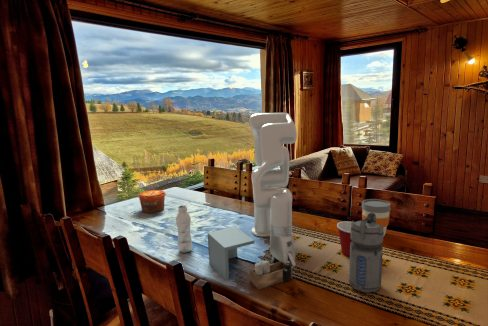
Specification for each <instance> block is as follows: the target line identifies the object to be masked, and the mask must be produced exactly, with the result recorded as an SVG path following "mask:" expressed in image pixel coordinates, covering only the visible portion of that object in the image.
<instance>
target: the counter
mask: <svg viewBox="0 0 488 326" xmlns="http://www.w3.org/2000/svg"><path fill="white" fill-rule="evenodd" d="M254 244H255V239H253V238H252V237H251V236H249V235H248V234H247V233H245V232H243V231H241V229H239V228H238V227H236V226H232V227H228V228H223V229H219V230H214V231H209V232H207V245H208V247H207V249H208V262H209V264H210V266H212V268H214V269H215V271H216V272H217V273H218V274H219V275H220V276H221V277H222V278H223V279H224V280H225V281H226V282H227V281H229V280H230V271H229V270H230V269H229V266H230V265H229V259H232V258H236V257H238V248H241V247H245V246H250V245H254Z"/></svg>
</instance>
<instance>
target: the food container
mask: <svg viewBox="0 0 488 326" xmlns="http://www.w3.org/2000/svg"><path fill="white" fill-rule="evenodd" d="M166 195H167V194H166V192H165V191H164V190H161V189H151V190H150V189H149V190H145V191H141V192H140V193H139V194H138V195H137V198H138V199H139V203H140V206H141V208H140V209H141V211H142V213H145V214H155V213H159V212H162V211H163V210H164V209H165V198H166Z"/></svg>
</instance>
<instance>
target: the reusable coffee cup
mask: <svg viewBox="0 0 488 326" xmlns="http://www.w3.org/2000/svg"><path fill="white" fill-rule="evenodd" d="M361 209H362V212H361V217H362V219H363V220H365V218H367V215H368V214H369V213H374V214H375V215H376V223H378V224H380V225H381V226H383V232H384V237H385V236H386V232H387V227H388V225H389V222H390V217H391V216H390V212H391V210H392V209H391V203H390V202H389V201H387V200H383V199H377V198H369V199H364V200H362V203H361ZM366 221H367V220H366Z"/></svg>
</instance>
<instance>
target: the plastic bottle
mask: <svg viewBox="0 0 488 326" xmlns="http://www.w3.org/2000/svg"><path fill="white" fill-rule="evenodd" d="M177 208H178V210H177V212H178V213H177V214H176V217H175V223H176V224H175V225H176V227H177V250H178V251H179V252H180V253H183V254H185V253H189V252H191V251H192V249H193V241H192V236H191V235H192V234H191V221H192V220H191V219H192V217H191V216H190V214H189V213H188V207H187V205H179V206H177Z"/></svg>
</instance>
